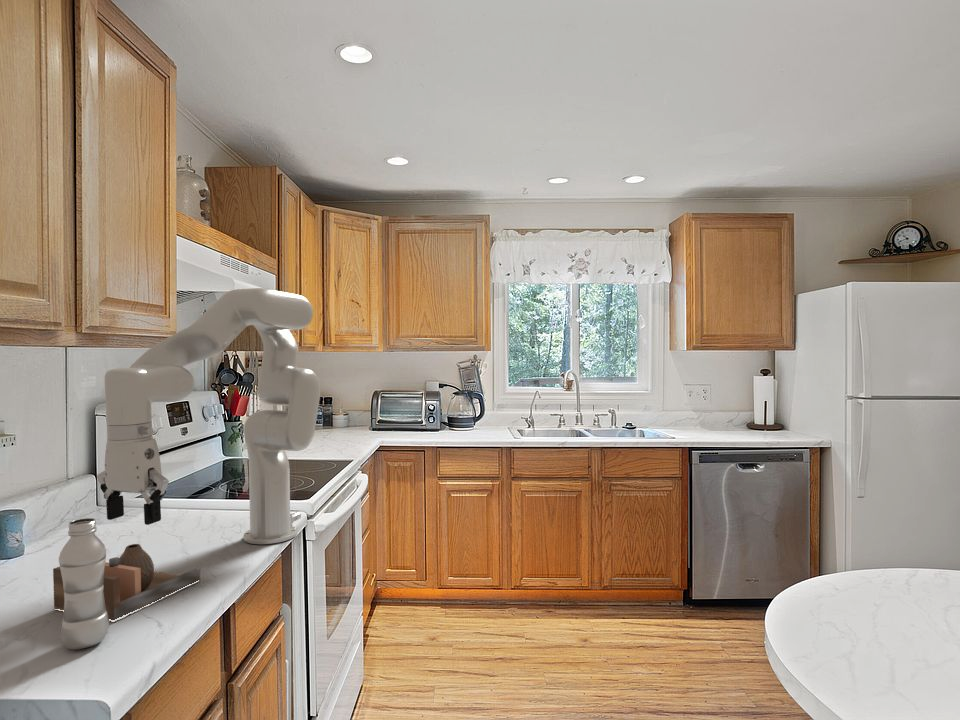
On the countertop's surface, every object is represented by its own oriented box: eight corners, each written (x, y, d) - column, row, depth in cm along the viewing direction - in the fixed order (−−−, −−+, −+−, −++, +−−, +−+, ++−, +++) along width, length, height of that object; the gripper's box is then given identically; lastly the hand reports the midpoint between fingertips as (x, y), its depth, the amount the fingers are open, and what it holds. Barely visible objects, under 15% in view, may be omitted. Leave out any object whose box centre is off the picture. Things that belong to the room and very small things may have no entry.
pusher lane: (144, 572, 127) (144, 536, 127) (200, 581, 122) (199, 544, 122) (54, 610, 109) (53, 568, 109) (114, 622, 104) (113, 579, 104)
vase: (108, 600, 112) (106, 553, 112) (119, 585, 119) (118, 541, 119) (149, 595, 114) (148, 550, 114) (158, 581, 121) (157, 538, 120)
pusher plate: (96, 592, 115) (95, 553, 115) (142, 601, 111) (141, 561, 111) (88, 595, 114) (87, 556, 114) (134, 604, 110) (133, 564, 110)
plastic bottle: (118, 633, 100) (115, 514, 100) (93, 654, 94) (90, 527, 93) (78, 634, 100) (75, 515, 100) (50, 655, 93) (47, 528, 93)
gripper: (180, 431, 116) (184, 518, 117) (115, 427, 122) (119, 510, 123) (146, 437, 109) (150, 530, 110) (79, 433, 115) (83, 521, 116)
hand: (134, 520), depth 116 cm, fingers open, 9 cm apart
